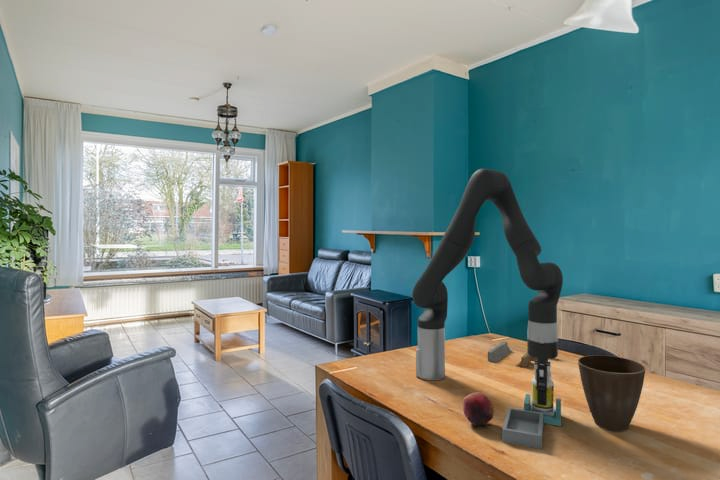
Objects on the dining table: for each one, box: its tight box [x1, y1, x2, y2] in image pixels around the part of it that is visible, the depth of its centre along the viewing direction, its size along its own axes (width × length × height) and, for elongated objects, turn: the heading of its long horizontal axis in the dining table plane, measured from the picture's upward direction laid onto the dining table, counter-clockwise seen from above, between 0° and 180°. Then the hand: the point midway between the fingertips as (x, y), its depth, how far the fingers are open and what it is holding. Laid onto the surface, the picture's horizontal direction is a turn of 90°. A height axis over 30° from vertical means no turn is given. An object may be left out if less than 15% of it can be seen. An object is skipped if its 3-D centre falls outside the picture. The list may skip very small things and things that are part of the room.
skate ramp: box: [487, 339, 537, 368], centre depth 165 cm, size 29×35×8 cm
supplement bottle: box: [531, 370, 555, 411], centre depth 116 cm, size 5×5×10 cm
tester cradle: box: [523, 393, 562, 427], centre depth 116 cm, size 9×7×4 cm
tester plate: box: [530, 404, 555, 416], centre depth 116 cm, size 6×4×1 cm
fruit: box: [462, 391, 495, 427], centre depth 112 cm, size 8×8×8 cm
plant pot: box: [577, 354, 646, 432], centre depth 111 cm, size 15×15×16 cm
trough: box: [501, 407, 544, 450], centre depth 107 cm, size 9×14×3 cm, turn 155°
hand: (542, 400), depth 116 cm, fingers closed on supplement bottle, 5 cm apart
